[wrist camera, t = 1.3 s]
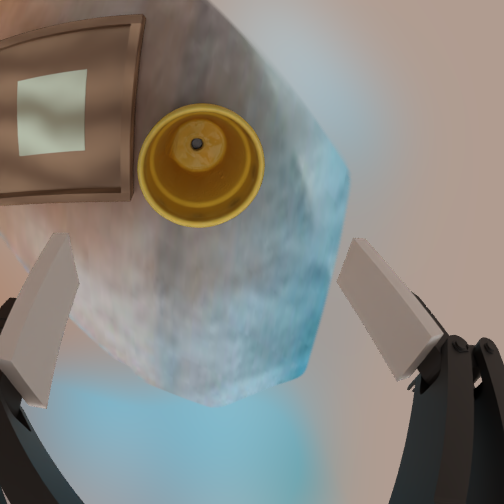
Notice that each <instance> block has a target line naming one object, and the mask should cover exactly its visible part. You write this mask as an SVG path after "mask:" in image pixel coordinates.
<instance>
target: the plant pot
mask: <svg viewBox="0 0 504 504" xmlns="http://www.w3.org/2000/svg"><path fill="white" fill-rule="evenodd" d="M195 138H198V139H201V140H202V142H203V145H202V147H201V148H200V149H194V148H193V147H192V145H191V142H192V140H193V139H195ZM264 167H265V161H264V153H263V149H262V145H261V143H260V140H259V138H258V136H257V134H256V133H255V131H254V130H253V128H252V127H251V126H250V125H249V124H248V123H247V122H246V121H245V120H244V119H243V118H242V117H240V116H239V115H238V114H236V113H235V112H233V111H231V110H229V109H227V108H224V107H222V106H218V105H214V104H206V103H200V104H191V105H187V106H183V107H181V108H178V109H176V110H174V111H172V112H170V113H169V114H167V115H166V116H165V117H163V118H162V119H161V120H160V121H159V122H158V123H157V124H156V125H155V126H154V127H153V128H152V130H151V131H150V132H149V134H148V135H147V137H146V139H145V141H144V143H143V145H142V147H141V150H140V153H139V157H138V165H137V173H138V180H139V184H140V188H141V190H142V193H143V195H144V197H145V199H146V200H147V202H148V203H149V204H150V206H151V207H152V208H153V209H154V210H155V211H156V212H157V213H158V214H160V215H161V216H163V217H164V218H166V219H167V220H169V221H171V222H174V223H176V224H179V225H182V226H187V227H196V228H201V227H210V226H215V225H218V224H221V223H224V222H226V221H228V220H230V219H232V218H234V217H236V216H237V215H238V214H240V213H241V212H242V211H243V210H245V209H246V208H247V207H248V206H249V204H250V203H251V202H252V201H253V199H254V198H255V196H256V195H257V193H258V191H259V189H260V186H261V184H262V180H263V176H264Z"/></svg>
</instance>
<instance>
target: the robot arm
mask: <svg viewBox="0 0 504 504" xmlns="http://www.w3.org/2000/svg"><path fill="white" fill-rule="evenodd" d="M337 283H338V285H339V286H340V288H341V289H342V291H343V293H344V294H345V296H346V297H347V299H348V300H349V302H350V304H351V305H352V307H353V308H354V310H355V312H356V313H357V315H358V316H359V318H360V320H361V321H362V323H363V325H364V326H365V328H366V330H367V331H368V333H369V334H370V336H371V338H372V340H373V341H374V343H375V345H376V346H377V348H378V350H379V351H380V353H381V354H382V356H383V358H384V360H385V362H386V363H387V365H388V367H389V368H390V370H391V372H392V374H393V375H394V377H395V379H396V381H400V380H403V379H406V378H409V377H410V376H411V375H412V374H413V372H414V371H415V370H416V369H418V371H419V372H420V374H419V375H418V376H417V377H416V378H415V379H414V380H413V381H412V383H411V384H410V385H409V386H408V389H407V390H410V389H411V388H412V386H413V385H415V388H414V389H413V390H412V391H413V392H414V398H413V405H412V411H411V417H410V423H409V428H408V433H407V438H406V443H405V447H404V451H403V455H402V460H401V464H400V467H399V471H398V475H397V478H396V482H395V485H394V488H393V492H392V495H391V498H390V501H389V504H504V364H503V361H502V359H501V356H500V353H499V351H498V349H497V347H496V345H495V344H494V342H493V341H491V340H490V339H488V338H481V339H480V340H479V341H478V343H477V344H476V345H468V344H467V342H466V341H465V340H464V339H462V338H461V337H459V336H457V335H450V336H449V335H448V333H447V332H446V331H445V330H444V328H443V327H442V326H441V324H440V323H439V322H438V321H437V319H436V318H435V316H434V315H433V314H431V311H430V310H429V309H428V308H427V307H426V305H425V304H424V303H423V301H422V300H421V299H420V298H419V297H418V296H417V295H415V294H414V293H413V292H412V291H410V290H409V288H408V287H407V286H406V285H405V284H404V282H403V281H402V280H401V279H400V278H399V277H398V275H397V274H396V273H395V272H394V271H393V270H392V268H391V267H390V266H389V265H388V264H387V263H386V262H385V260H384V259H383V258H382V257H381V256H380V255H379V254H378V252H377V251H376V250H375V249H374V248H373V247H372V246H371V245H370V244H369V242H368V241H367V240H366V239H360V238H353V240H352V242H351V245H350V248H349V250H348V253H347V256H346V259H345V261H344V264H343V267H342V269H341V272H340V274H339V277H338V279H337ZM79 284H80V283H79V279H78V275H77V271H76V267H75V262H74V257H73V253H72V248H71V243H70V237H69V233H53V235H52V236H51V238H50V240H49V241H48V243H47V244H46V246H45V248H44V249H43V251H42V253H41V254H40V256H39V258H38V260H37V261H36V263H35V265H34V267H33V268H32V270H31V272H30V274H29V276H28V278H27V279H26V281H25V283H24V285H23V287H22V289H21V291H20V293H19V295H18V297H17V298H9V299H8V300H7V301H6V302H5V303H4V304H3V305H2V306H1V308H0V504H7V502H6V499H5V497H4V494H3V491H4V493H5V495H6V496H7V498H8V500H9V501H10V503H11V504H84V503H83V501H82V500H81V499H80V498H79V496H78V495H77V494H76V493H75V491H74V490H73V489H72V487H71V486H70V485H69V483H68V482H67V481H66V479H65V478H64V477H63V475H62V474H61V472H60V471H59V469H58V468H57V466H56V465H55V464H54V462H53V460H52V459H51V458H50V456H49V454H48V453H47V451H46V449H45V448H44V446H43V445H42V443H41V441H40V440H39V438H38V436H37V434H36V433H35V431H34V429H33V427H32V425H31V423H30V422H29V420H28V418H27V416H26V414H25V412H24V410H23V409H22V407H21V406H20V404H21V399H22V398H23V399H24V400H25V401H26V402H27V404H28V405H30V406H34V407H40V408H45V409H47V404H48V399H49V393H50V388H51V383H52V378H53V374H54V369H55V364H56V360H57V356H58V352H59V348H60V344H61V341H62V337H63V334H64V330H65V327H66V323H67V320H68V317H69V313H70V310H71V307H72V304H73V301H74V298H75V295H76V292H77V289H78V286H79ZM480 377H481V378H482V383H481V384H480V385H479V386H478V387H477V388H475V387H474V383H475V382H476V381H477V379H479V378H480ZM1 487H2V488H1ZM2 489H3V491H2Z"/></svg>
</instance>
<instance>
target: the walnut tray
mask: <svg viewBox="0 0 504 504" xmlns="http://www.w3.org/2000/svg"><path fill="white" fill-rule="evenodd" d="M145 21H146V18H145V17H144V15H143V14H135V15H120V16H109V17H100V18H92V19H85V20H79V21H73V22H68V23H63V24H58V25H53V26H49V27H45V28H41V29H37V30H33V31H29V32H26V33H22V34H19V35H16V36H13V37H10V38H7V39H4V40H1V41H0V206H7V205H23V204H42V203H68V202H118V201H131V198H132V196H133V147H134V120H135V104H136V91H137V80H138V70H139V62H140V54H141V46H142V39H143V33H144V27H145Z"/></svg>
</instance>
